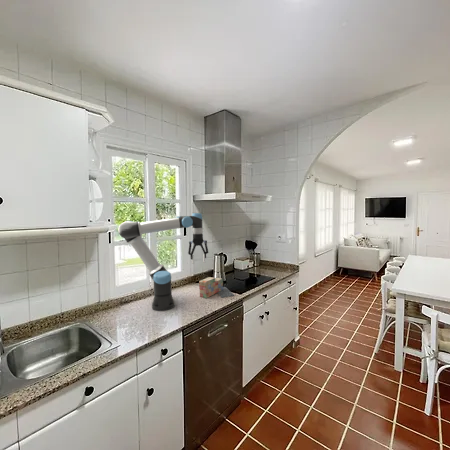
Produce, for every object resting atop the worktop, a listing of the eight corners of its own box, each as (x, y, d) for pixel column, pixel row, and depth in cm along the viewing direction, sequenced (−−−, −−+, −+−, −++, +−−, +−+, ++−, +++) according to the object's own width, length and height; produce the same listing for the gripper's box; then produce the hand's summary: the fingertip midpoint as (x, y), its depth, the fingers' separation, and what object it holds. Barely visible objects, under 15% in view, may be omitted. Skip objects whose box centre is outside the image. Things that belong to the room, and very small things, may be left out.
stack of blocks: (217, 288, 205) (216, 273, 205) (223, 289, 202) (222, 274, 201) (199, 296, 188) (198, 281, 188) (206, 298, 185) (204, 282, 184)
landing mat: (221, 297, 186) (221, 296, 186) (214, 288, 207) (214, 288, 207) (234, 295, 189) (234, 295, 189) (225, 287, 210) (225, 286, 210)
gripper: (184, 234, 183) (185, 265, 184) (212, 233, 189) (213, 262, 190) (183, 233, 190) (184, 263, 191) (209, 232, 196) (210, 261, 197)
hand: (198, 263), depth 191 cm, fingers open, 8 cm apart
